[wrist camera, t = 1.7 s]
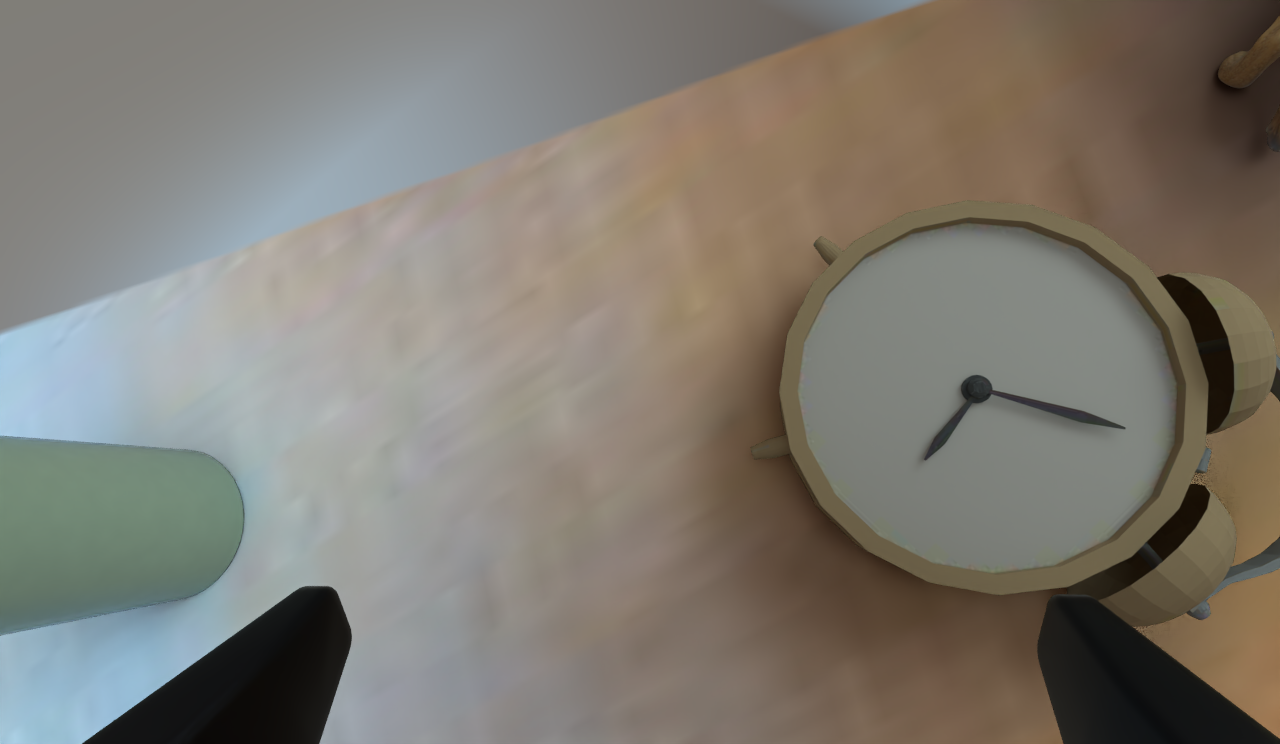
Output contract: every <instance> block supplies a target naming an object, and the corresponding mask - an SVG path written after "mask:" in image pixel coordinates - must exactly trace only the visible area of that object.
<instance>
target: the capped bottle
mask: <svg viewBox="0 0 1280 744" xmlns="http://www.w3.org/2000/svg"><path fill="white" fill-rule="evenodd" d="M243 522H244V512H243V503H242V499H241V495H240V492H239V489H238V487H237V485H236V483H235V481H234V479H233V477H232V476H231V475H230V473H229V472H228V471H227V469H226V468H225V467H224V466H223V465H222V464H220V463H219V462H218V461H216V460H215V459H214V458H212V457H210V456H208V455H206V454H204V453H201V452H198V451H193V450H186V449H172V448H159V447H146V446H132V445H119V444H106V443H93V442H79V441H66V440H53V439H40V438H26V437H13V436H0V636H1V635H6V634H11V633H16V632H21V631H26V630H31V629H36V628H41V627H46V626H52V625H57V624H62V623H67V622H72V621H77V620H82V619H87V618H92V617H97V616H102V615H107V614H112V613H117V612H122V611H127V610H132V609H137V608H142V607H147V606H152V605H157V604H162V603H167V602H172V601H177V600H181V599H186V598H188V597H191V596H194V595H196V594H198V593H200V592H202V591H203V590H205V589H206V588H208V587H209V586H210V585H212V584H213V583H214V582H215V581H216V580H217V579H218V578H219V577H220V576H221V575H222V574H223V573H224V571H225V570H226V569H227V567H228V566H229V564H230V563H231V561H232V559H233V557H234V556H235V554H236V551H237V549H238V546H239V543H240V540H241V536H242V531H243Z"/></svg>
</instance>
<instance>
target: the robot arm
mask: <svg viewBox="0 0 1280 744" xmlns="http://www.w3.org/2000/svg"><path fill="white" fill-rule="evenodd" d="M351 641H352V634H351V628H350V625H349V622H348V620H347V617H346V614H345V612H344V609H343V606H342V604H341V601H340V598H339V596H338V594H337V592H336V591H335V590H334V589H333V588H332V587H329V586H305V587H302V588H299V589H298V590H296V591H295V592H293V593H292V594H290V595H289V596H288V597H286V598H285V599H283V600H282V601H281V602H279V603H278V604H276V605H275V606H274V607H272V608H271V609H269V610H268V611H267V612H265V613H264V614H262V615H261V616H260V617H258V618H257V619H255V620H254V621H253V622H251V623H250V624H248V625H247V626H246V627H244V628H243V629H241V630H240V631H239V632H237V633H236V634H234V635H233V636H232V637H230V638H229V639H228V640H226V641H225V642H223V643H222V644H221V645H219V646H218V647H216V648H215V649H214V650H212V651H211V652H209V653H208V654H207V655H205V656H204V657H202V658H201V659H200V660H198V661H197V662H195V663H194V664H193V665H191V666H190V667H188V668H187V669H186V670H184V671H183V672H181V673H180V674H179V675H177V676H176V677H174V678H173V679H172V680H170V681H169V682H167V683H166V684H165V685H163V686H162V687H160V688H159V689H158V690H156V691H155V692H154V693H152V694H151V695H149V696H148V697H147V698H145V699H144V700H142V701H141V702H140V703H138V704H137V705H135V706H134V707H133V708H131V709H130V710H128V711H127V712H126V713H124V714H123V715H121V716H120V717H119V718H117V719H116V720H114V721H113V722H112V723H110V724H109V725H107V726H106V727H105V728H103V729H102V730H100V731H99V732H98V733H96V734H95V735H93V736H92V737H91V738H89V739H88V740H86V741H85V742H84V743H82V744H319V743H320V740H321V737H322V734H323V731H324V728H325V724H326V721H327V718H328V715H329V712H330V709H331V706H332V703H333V700H334V697H335V694H336V691H337V687H338V684H339V681H340V678H341V675H342V672H343V669H344V666H345V663H346V660H347V657H348V654H349V650H350V647H351ZM1037 652H1038V659H1039V664H1040V667H1041V671H1042V674H1043V677H1044V681H1045V684H1046V687H1047V690H1048V694H1049V697H1050V700H1051V704H1052V707H1053V710H1054V714H1055V717H1056V720H1057V724H1058V727H1059V730H1060V734H1061V737H1062V740H1063V743H1064V744H1280V739H1279V738H1278V737H1276V736H1275V735H1274V734H1273V733H1271V732H1270V731H1269V730H1267V729H1266V728H1265V727H1263V726H1262V725H1261V724H1259V723H1258V722H1257V721H1255V720H1254V719H1253V718H1251V717H1250V716H1249V715H1248V714H1246V713H1245V712H1244V711H1242V710H1241V709H1240V708H1238V707H1237V706H1236V705H1234V704H1233V703H1232V702H1230V701H1229V700H1228V699H1227V698H1225V697H1224V696H1223V695H1221V694H1220V693H1219V692H1217V691H1216V690H1215V689H1213V688H1212V687H1211V686H1209V685H1208V684H1207V683H1205V682H1204V681H1203V680H1202V679H1200V678H1199V677H1198V676H1196V675H1195V674H1194V673H1192V672H1191V671H1190V670H1188V669H1187V668H1186V667H1184V666H1183V665H1182V664H1180V663H1179V662H1178V661H1177V660H1175V659H1174V658H1173V657H1171V656H1170V655H1169V654H1167V653H1166V652H1165V651H1163V650H1162V649H1161V648H1159V647H1158V646H1157V645H1156V644H1154V643H1153V642H1152V641H1150V640H1149V639H1148V638H1146V637H1145V636H1144V635H1142V634H1141V633H1140V632H1138V631H1137V630H1136V629H1134V628H1133V627H1132V626H1131V625H1129V624H1128V623H1127V622H1125V621H1124V620H1123V619H1121V618H1120V617H1119V616H1117V615H1116V614H1115V613H1113V612H1112V611H1111V610H1110V609H1108V608H1107V607H1106V606H1104V605H1103V604H1102V603H1100V602H1099V601H1098V600H1096V599H1095V598H1093V597H1091V596H1088V595H1062V594H1058V595H1054V596H1052V597H1051V598H1050V600H1049V602H1048V604H1047V608H1046V612H1045V615H1044V619H1043V623H1042V627H1041V631H1040V635H1039V639H1038V644H1037Z"/></svg>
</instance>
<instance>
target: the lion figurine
mask: <svg viewBox="0 0 1280 744" xmlns="http://www.w3.org/2000/svg"><path fill="white" fill-rule="evenodd" d="M1279 57H1280V15H1279V17H1278V18H1277V19H1276V20H1275V22H1274V23H1273V24H1272V26H1271V27H1270V28H1269V29H1268V30H1267V31H1265V32H1264V33H1263V34H1262V35H1261V36H1260V38H1259V39H1258V40H1257V41H1256V43H1255V44H1254V46H1253V47H1252V49H1251V50H1250V51H1240V52H1238V53H1236V54H1234V55H1231V56H1229V57H1228V58H1226V59H1225V60H1224V61H1223V63H1222V64H1221V66H1220V67H1219V71H1218V76H1219V79H1220V80H1221V81H1222V82H1223V83H1225V84H1227V85H1229V86H1231V87H1235V88H1245V87H1247V86H1249V85H1250V84H1252V83H1253V82H1254V81H1255V80H1256V79H1257V78H1259V76H1260V75H1261V74H1262V73H1263V72H1264V70H1265V69H1266V68H1267V67H1268V66H1269V65H1270V64H1272V63H1273V62H1274V61H1275V60H1276V59H1277V58H1279ZM1266 133H1267V135H1268V137H1267V144H1268V146H1269V148H1270V149H1271V150H1272V151H1275V152H1280V105H1279V108H1278V110H1277V112H1276V114H1275V116H1274V117H1273V119H1272V120H1271V122H1270V123H1269V125H1268V126H1267V128H1266Z"/></svg>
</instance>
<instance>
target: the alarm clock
mask: <svg viewBox="0 0 1280 744" xmlns="http://www.w3.org/2000/svg"><path fill="white" fill-rule="evenodd" d="M814 247H815V248H816V249H817V251H818V252H819V254H820V255H821V257H822V258H823V259H824V261H825V262H827V263H828V264H829V265H830V266H829V267H828V268H827V269H826V270H825V271H824V272H823V273H822V274H821V275H820V276H819V277H818V278H817V279H816V280H815V281H814V282H813V284H812V286H811V288H810V290H809V292H808V294H807V296H806V298H805V300H804V302H803V304H802V306H801V308H800V310H799V312H798V314H797V316H796V318H795V320H794V322H793V324H792V326H791V328H790V330H789V332H788V334H787V340H786V347H785V354H784V362H783V369H782V376H781V383H780V391H779V394H780V399H781V401H780V408H781V414H782V419H783V424H784V429H785V435H783V436H779V437H775V438H772V439H768V440H766V441H764V442H761V443H759V444H757V445H755V446H753V447H751V452H752V455H753V458H754V459H767V458H775V457H779V456H783V455H787V454H789V456H790V459H791V461H792V463H793V464H794V466H795V468H796V470H797V472H798V474H799V475H800V477H801V479H802V481H803V483H804V485H805V486H806V488H807V490H808V492H809V494H810V495H811V497H812V499H813V501H814V503H815V505H816V506H817V507H818V508H819V509H820V510H821V511H822V512H823V513H824V514H825V515H826V516H827V517H828V518H829V519H830V520H831V521H832V522H833V523H834V524H835V525H836V526H838V527H839V528H840V529H841V530H842V531H843V532H844V533H845V534H846V535H847V536H848V537H849V538H850V539H851V540H852V541H853V542H854V543H855V544H856V545H857V546H859V547H861V548H863V549H865V550H867V551H869V552H870V553H872V554H874V555H876V556H878V557H880V558H882V559H884V560H886V561H888V562H890V563H892V564H894V565H896V566H898V567H900V568H902V569H904V570H906V571H908V572H909V573H911V574H914V575H915V576H917V577H919V578H921V579H923V580H925V581H927V582H929V583H934V584H940V585H945V586H951V587H956V588H962V589H967V590H973V591H978V592H984V593H989V594H995V595H1005V594H1013V593H1021V592H1029V591H1037V590H1046V589H1054V588H1062V587H1067V595H1088V596H1091V597H1093V598H1095V599H1096V600H1098V601H1099V602H1100V603H1102V604H1103V605H1104V606H1106V607H1107V608H1108V609H1110V610H1111V611H1112V612H1113V613H1115V614H1116V615H1117V616H1119V617H1120V618H1121V619H1123V620H1124V621H1125V622H1127V623H1128V624H1129V625H1131V626H1134V627H1138V626H1150V625H1154V624H1158V623H1162V622H1166V621H1169V620H1171V619H1174V618H1176V617H1178V616H1180V615H1182V614H1185V613H1186V612H1187V614H1188V615H1190V616H1192V617H1194V618H1197V619H1199V620H1203V619H1205V618H1207V617H1208V616H1210V614H1211V612H1210V607H1209V604H1208V603H1207V602H1206V600H1207V599H1209V598H1210V597H1211V596H1213V595H1214V594H1216V593H1217V592H1219V591H1220V590H1222V589H1223V588H1225V587H1226V586H1227V585H1229V584H1231V583H1234V582H1238V581H1242V580H1246V579H1250V578H1253V577H1257V576H1260V575H1263V574H1267V573H1270V572H1273V571H1275V570H1277V569H1279V568H1280V537H1279V538H1278V539H1277V540H1276V541H1275V542H1274V543H1272V544H1271V545H1270V546H1269V547H1268V548H1267V549H1265V550H1264V551H1263V552H1262V553H1261V554H1259V555H1257V556H1255V557H1253V558H1251V559H1249V560H1247V561H1245V562H1243V563H1241V564H1239V565H1236V566H1232V567H1231V565H1232V563H1233V561H1234V555H1235V548H1236V539H1237V538H1236V529H1235V526H1234V524H1233V521H1232V519H1231V517H1230V515H1229V514H1228V512H1227V510H1226V509H1225V507H1224V506H1223V505H1222V503H1221V502H1220V501H1219V499H1218V498H1217V497H1216V496H1215V495H1214V494H1213V493H1212V492H1211V491H1210V490H1209V489H1208V488H1207V487H1206V486H1203V485H1198V484H1190V483H1191V481H1192V478H1193V476H1194V474H1195V472H1196V473H1206V472H1207V467H1208V463H1209V459H1210V454H1211V450H1210V449H1209V448H1206V435H1208V434H1213V433H1217V432H1220V431H1222V430H1225V429H1227V428H1230V427H1232V426H1234V425H1236V424H1238V423H1240V422H1242V421H1244V420H1246V419H1247V418H1249V417H1250V416H1251V415H1253V414H1254V413H1255V412H1256V410H1257V409H1258V408H1259V406H1260V405H1261V404H1262V402H1263V401H1264V399H1265V398H1266V397H1267V395H1268V394H1269V392H1270V391H1271V392H1272V393H1273V394H1274V395H1275V396H1276V397H1277V398H1278V400H1279V401H1280V358H1279V357H1278V356H1277V354H1276V347H1275V343H1274V334H1273V332H1272V331H1271V329H1270V327H1269V325H1268V323H1267V320H1266V318H1265V316H1264V314H1263V313H1262V312H1261V310H1260V309H1259V308H1258V307H1257V305H1256V304H1255V303H1254V302H1253V300H1252V299H1251V298H1250V297H1248V296H1247V295H1246V294H1245V293H1243V292H1242V291H1241V290H1239V289H1238V288H1236V287H1235V286H1233V285H1232V284H1230V283H1228V282H1227V281H1225V280H1223V279H1219V278H1214V277H1210V276H1206V275H1201V274H1197V273H1175V274H1167V275H1164V276H1161V277H1156V276H1155V275H1154V273H1153V272H1152V271H1151V269H1150V268H1149V267H1148V266H1147V265H1145V264H1144V263H1143V262H1141V261H1140V260H1139V259H1137V258H1136V257H1134V256H1133V255H1132V254H1130V253H1129V252H1128V251H1126V250H1125V249H1124V248H1122V247H1121V246H1119V245H1118V244H1117V243H1115V242H1114V241H1113V240H1111V239H1110V238H1108V237H1107V236H1106V235H1104V234H1103V233H1102V232H1100V231H1099V230H1097V229H1096V228H1095V227H1092V226H1089V225H1086V224H1084V223H1081V222H1078V221H1075V220H1073V219H1070V218H1067V217H1064V216H1062V215H1059V214H1056V213H1053V212H1050V211H1048V210H1045V209H1042V208H1039V207H1037V206H1034V205H1026V204H1012V203H998V202H984V201H970V200H967V201H962V202H958V203H953V204H948V205H943V206H938V207H934V208H929V209H924V210H919V211H914V212H910V213H906V214H904V215H902V216H900V217H899V218H897V219H895V220H893V221H891V222H889V223H887V224H885V225H884V226H882V227H880V228H878V229H876V230H874V231H872V232H871V233H869V234H867V235H865V236H863V237H861V238H859V239H857V240H856V241H854V242H853V243H852V244H851V245H850V246H849V247H848V248H847V249H846V250H845V251H844V252H843V251H842V250H841V249H840V248H839V247H838V246H837V245H835V244H833V243H832V242H830V241H829V240H827V239H826V238H824V237H820V238H818V239H817V240H816V241H815V243H814Z"/></svg>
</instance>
